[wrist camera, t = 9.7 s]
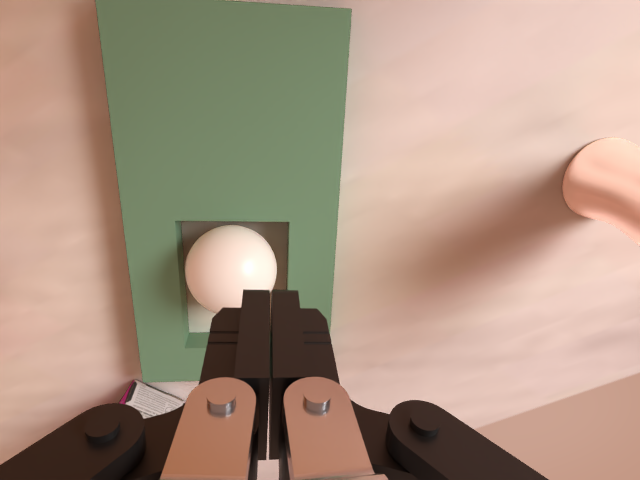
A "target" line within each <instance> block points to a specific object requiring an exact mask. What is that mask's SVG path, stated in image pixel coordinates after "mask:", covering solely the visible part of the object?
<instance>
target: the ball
mask: <svg viewBox="0 0 640 480" xmlns="http://www.w3.org/2000/svg"><path fill="white" fill-rule="evenodd" d="M276 275H277V264H276V259H275V256H274V253H273V251H272V249H271V247H270V245H269V244H268V242H267V241H266V240H265V239H264V238H263V237H262V236H261V235H260V234H258V233H257V232H255V231H253V230H251V229H249V228H247V227H243V226H238V225H225V226H220V227H217V228H214V229H212V230H209V231H208V232H206V233H205V234H203V235H202V236H201V237H200V238H199V239H198V240H197V241H196V242H195V243H194V245H193V246H192V248H191V249H190V251H189V254H188V256H187V260H186V265H185V276H186V282H187V285H188V288H189V290H190V292H191V294H192V295H193V297H194V298H195V299H196V300H197V301H198V302H199V303H200V304H201V305H202V306H203V307H205V308H206V309H208V310H210V311H212V312H214V313H218V312H219V311H220V310H221V309H222V308H223V307H230V308H241V305H242V296H243V289H246V290H270V292H271V291H272V289H273V286H274V284H275V280H276Z"/></svg>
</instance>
